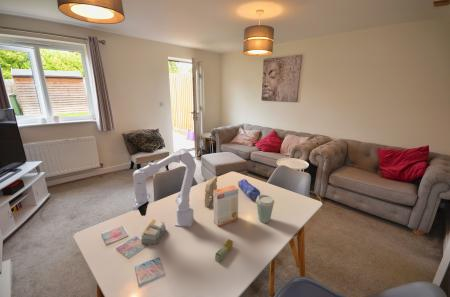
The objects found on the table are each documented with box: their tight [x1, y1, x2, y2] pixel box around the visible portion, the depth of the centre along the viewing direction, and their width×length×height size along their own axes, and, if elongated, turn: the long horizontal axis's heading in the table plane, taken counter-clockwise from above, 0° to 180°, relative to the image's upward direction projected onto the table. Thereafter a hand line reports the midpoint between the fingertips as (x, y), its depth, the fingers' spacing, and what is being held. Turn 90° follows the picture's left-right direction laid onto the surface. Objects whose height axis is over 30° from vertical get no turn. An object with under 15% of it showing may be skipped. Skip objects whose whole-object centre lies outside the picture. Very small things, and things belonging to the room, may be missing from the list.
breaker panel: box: [140, 221, 166, 245], centre depth 107 cm, size 8×12×5 cm, turn 174°
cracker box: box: [212, 185, 239, 227], centre depth 119 cm, size 14×6×21 cm, turn 119°
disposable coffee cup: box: [255, 193, 275, 224], centre depth 120 cm, size 11×11×15 cm
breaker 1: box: [148, 218, 162, 228], centre depth 110 cm, size 6×3×2 cm, turn 84°
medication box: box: [214, 238, 234, 263], centre depth 96 cm, size 12×3×4 cm, turn 149°
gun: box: [204, 175, 218, 208], centre depth 146 cm, size 24×3×15 cm, turn 168°
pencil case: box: [237, 178, 261, 201], centre depth 154 cm, size 22×9×10 cm, turn 21°
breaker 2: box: [143, 225, 158, 235], centre depth 104 cm, size 6×3×2 cm, turn 84°
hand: (143, 215), depth 109 cm, fingers closed
